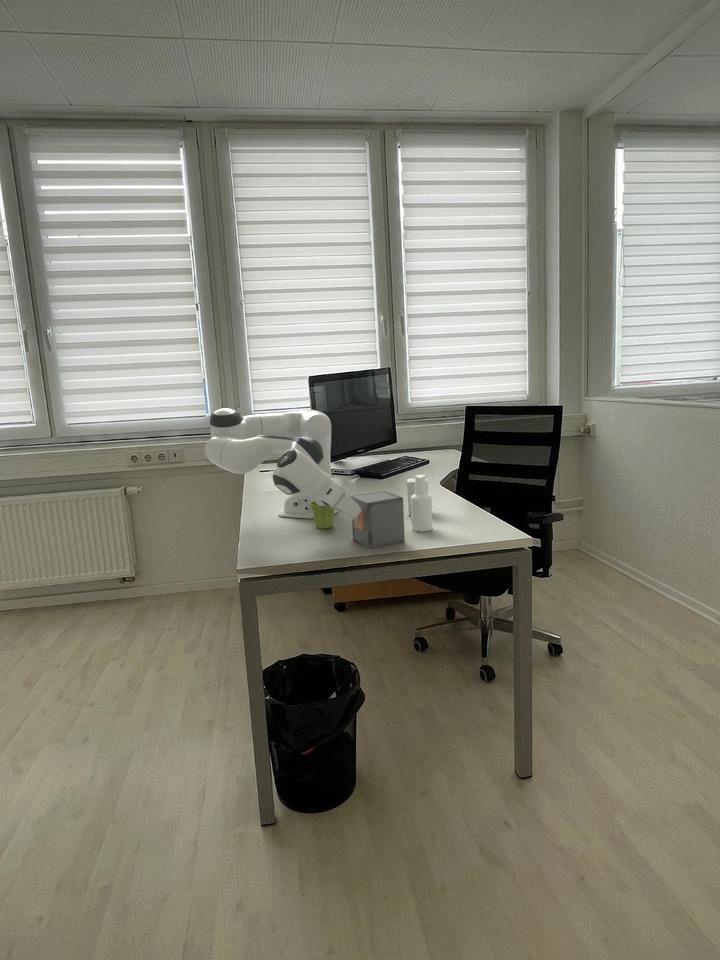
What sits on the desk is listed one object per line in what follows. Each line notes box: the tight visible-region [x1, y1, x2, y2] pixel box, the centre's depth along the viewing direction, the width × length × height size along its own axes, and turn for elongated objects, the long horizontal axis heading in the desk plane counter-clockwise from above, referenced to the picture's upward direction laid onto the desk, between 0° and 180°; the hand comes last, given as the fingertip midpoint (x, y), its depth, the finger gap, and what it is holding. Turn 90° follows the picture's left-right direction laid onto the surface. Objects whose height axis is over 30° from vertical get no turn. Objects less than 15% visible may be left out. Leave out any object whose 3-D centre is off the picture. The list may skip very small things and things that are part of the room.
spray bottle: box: [410, 474, 433, 533], centre depth 195 cm, size 7×7×18 cm
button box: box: [350, 491, 406, 549], centre depth 184 cm, size 12×12×14 cm
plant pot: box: [310, 501, 336, 530], centre depth 205 cm, size 9×9×9 cm
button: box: [354, 509, 365, 530], centre depth 183 cm, size 5×6×6 cm
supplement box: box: [406, 477, 429, 516], centre depth 217 cm, size 7×7×13 cm
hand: (356, 518), depth 181 cm, fingers closed, pressing on button
